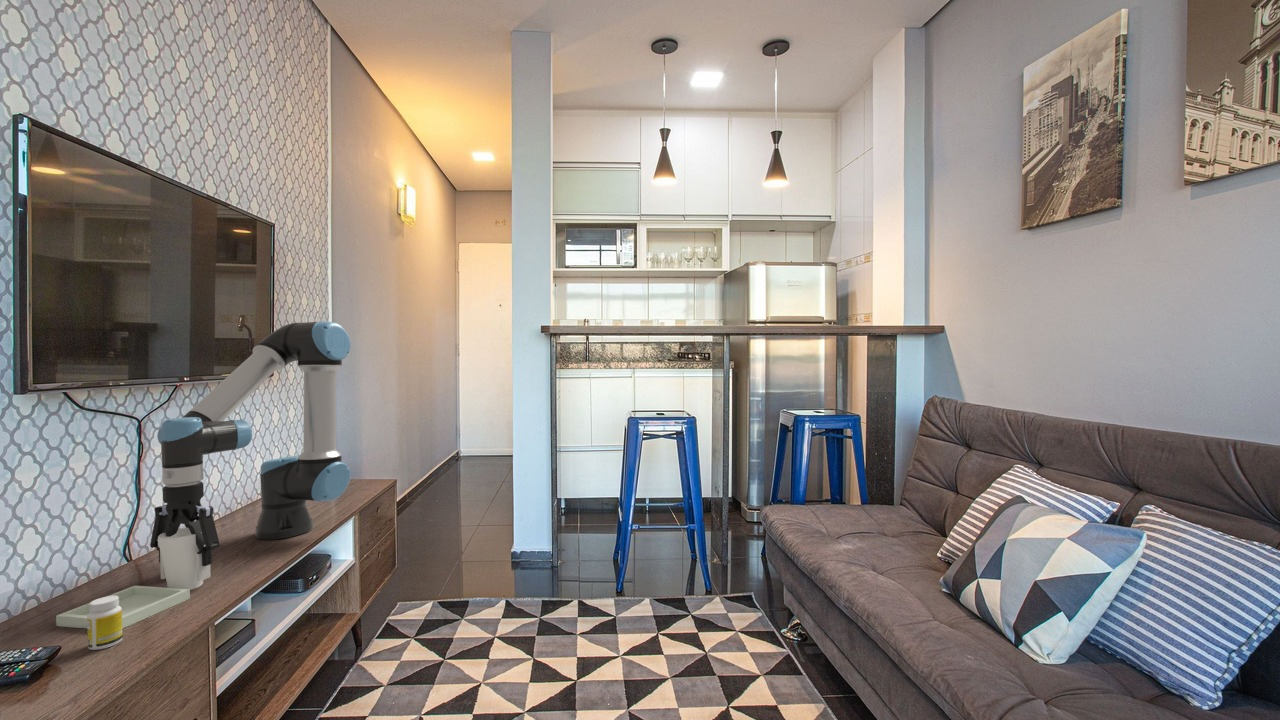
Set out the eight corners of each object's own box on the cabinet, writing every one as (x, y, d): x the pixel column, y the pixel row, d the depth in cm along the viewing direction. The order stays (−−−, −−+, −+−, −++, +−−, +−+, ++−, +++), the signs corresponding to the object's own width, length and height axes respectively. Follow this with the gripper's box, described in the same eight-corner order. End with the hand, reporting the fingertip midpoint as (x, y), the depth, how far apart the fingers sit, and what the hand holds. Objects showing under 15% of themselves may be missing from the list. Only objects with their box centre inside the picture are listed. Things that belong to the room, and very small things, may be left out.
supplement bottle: (129, 637, 109) (128, 594, 109) (107, 650, 104) (105, 605, 104) (104, 638, 108) (102, 595, 108) (80, 651, 104) (79, 605, 104)
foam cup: (150, 597, 127) (149, 540, 127) (172, 581, 136) (171, 528, 136) (199, 591, 130) (198, 535, 129) (218, 576, 138) (216, 524, 138)
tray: (135, 594, 129) (134, 585, 129) (189, 598, 126) (189, 589, 126) (56, 625, 114) (56, 615, 114) (116, 631, 111) (116, 620, 111)
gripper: (127, 486, 131) (130, 581, 131) (207, 488, 127) (210, 587, 127) (160, 478, 138) (162, 569, 138) (237, 480, 134) (239, 574, 134)
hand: (185, 577), depth 133 cm, fingers closed on foam cup, 9 cm apart
